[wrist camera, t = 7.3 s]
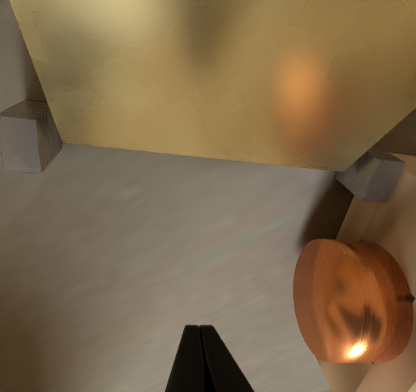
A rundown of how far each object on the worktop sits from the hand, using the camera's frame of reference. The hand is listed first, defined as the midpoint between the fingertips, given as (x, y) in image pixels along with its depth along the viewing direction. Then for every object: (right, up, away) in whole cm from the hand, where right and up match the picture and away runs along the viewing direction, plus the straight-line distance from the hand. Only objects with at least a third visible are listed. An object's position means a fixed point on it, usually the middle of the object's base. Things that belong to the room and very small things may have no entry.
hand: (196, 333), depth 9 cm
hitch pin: (+11, +1, +5) cm, 12 cm away
